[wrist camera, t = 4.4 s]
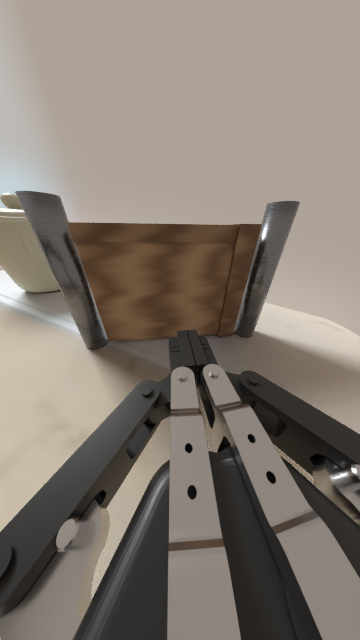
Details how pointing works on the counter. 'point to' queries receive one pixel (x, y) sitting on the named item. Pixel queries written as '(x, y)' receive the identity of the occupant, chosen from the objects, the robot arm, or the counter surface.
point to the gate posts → (74, 285)
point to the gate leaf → (166, 276)
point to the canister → (22, 250)
